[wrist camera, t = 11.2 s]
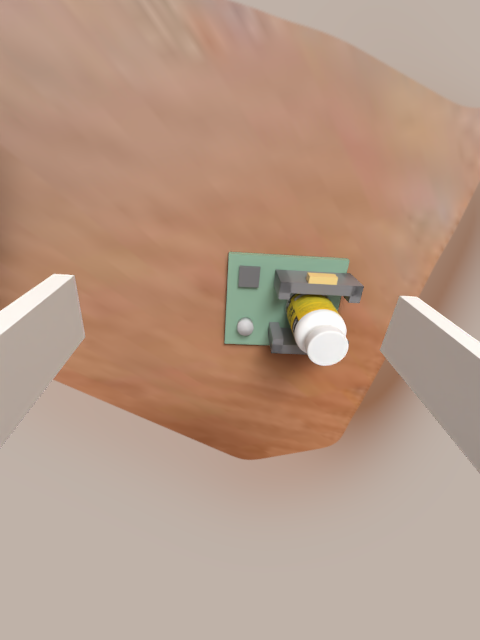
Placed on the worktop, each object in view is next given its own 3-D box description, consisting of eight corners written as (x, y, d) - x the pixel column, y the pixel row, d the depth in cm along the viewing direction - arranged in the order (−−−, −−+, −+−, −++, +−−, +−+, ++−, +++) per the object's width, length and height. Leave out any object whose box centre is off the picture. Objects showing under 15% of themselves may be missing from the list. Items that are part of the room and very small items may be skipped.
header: (267, 335, 40) (271, 353, 36) (276, 262, 35) (281, 274, 32) (334, 338, 40) (345, 356, 36) (351, 266, 36) (365, 279, 32)
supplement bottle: (280, 292, 37) (294, 333, 28) (324, 280, 36) (353, 317, 28) (289, 329, 39) (306, 377, 31) (331, 318, 39) (360, 363, 30)
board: (224, 340, 41) (224, 348, 39) (228, 251, 35) (228, 256, 34) (327, 344, 42) (331, 352, 40) (347, 258, 36) (353, 263, 34)
